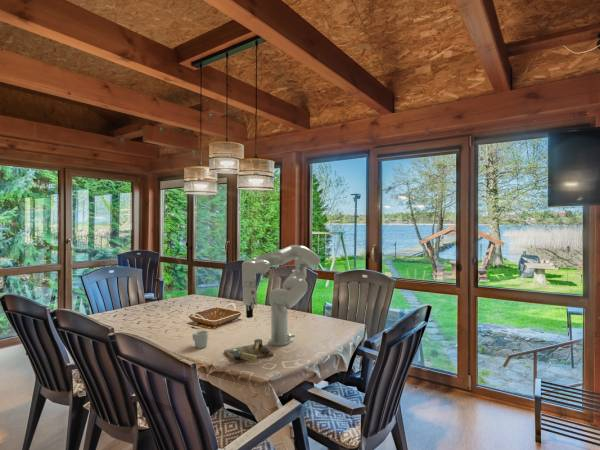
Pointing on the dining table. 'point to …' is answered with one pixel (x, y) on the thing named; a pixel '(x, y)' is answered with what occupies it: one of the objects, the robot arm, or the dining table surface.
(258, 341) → the ball knob lever
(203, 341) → the cup
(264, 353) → the base plate
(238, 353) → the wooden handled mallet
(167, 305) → the dining table surface
